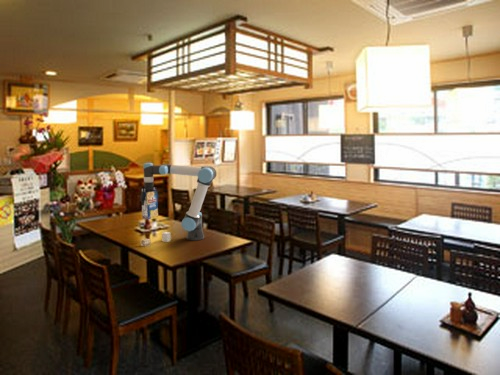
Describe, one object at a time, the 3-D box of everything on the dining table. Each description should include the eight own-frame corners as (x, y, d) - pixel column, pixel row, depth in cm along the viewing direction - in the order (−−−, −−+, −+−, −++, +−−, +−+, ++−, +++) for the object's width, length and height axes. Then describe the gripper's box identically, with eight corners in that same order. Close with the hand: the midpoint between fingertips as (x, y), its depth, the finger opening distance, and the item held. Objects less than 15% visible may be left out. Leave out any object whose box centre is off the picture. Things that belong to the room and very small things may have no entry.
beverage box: (142, 218, 301) (141, 192, 299) (152, 216, 310) (151, 190, 308) (147, 219, 297) (146, 192, 295) (158, 217, 307) (157, 191, 304)
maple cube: (150, 245, 294) (150, 239, 293) (145, 246, 290) (144, 240, 289) (146, 244, 297) (146, 238, 296) (141, 245, 293) (140, 239, 292)
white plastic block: (170, 240, 308) (170, 232, 308) (167, 242, 304) (167, 233, 303) (165, 239, 310) (165, 231, 309) (162, 241, 306) (162, 233, 305)
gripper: (157, 180, 312) (158, 205, 314) (133, 182, 293) (135, 209, 296) (162, 180, 307) (163, 206, 310) (139, 183, 289) (141, 210, 291)
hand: (149, 208), depth 303 cm, fingers closed on beverage box, 11 cm apart
